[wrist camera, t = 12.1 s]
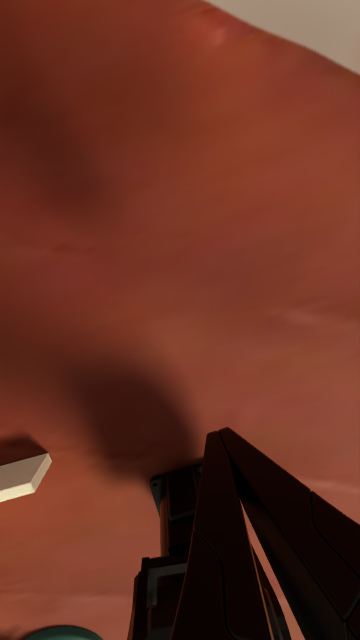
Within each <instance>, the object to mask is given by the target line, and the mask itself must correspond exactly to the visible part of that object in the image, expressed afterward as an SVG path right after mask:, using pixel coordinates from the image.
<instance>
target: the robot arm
mask: <svg viewBox="0 0 360 640" xmlns="http://www.w3.org/2000/svg"><path fill="white" fill-rule="evenodd" d="M150 487H151V490H152V494H153V497H154V500H155V503H156V506H157V509H158V512H159V516H160V544H161V557H155V558H149V557H145V558H142V565H141V571H140V572H139V574H138V575H137V576H136V577H135V579H134V593H133V606H132V614H131V620H130V626H129V632H128V638H127V640H291V636H290V633H289V629H288V626H287V623H286V620H285V617H284V614H283V611H282V609H281V606H280V604H279V601H278V599H277V597H276V595H275V592H274V590H273V588H272V586H271V584H270V582H269V580H268V578H267V576H266V574H265V572H264V570H263V567H262V565H261V563H260V561H259V559H258V557H257V555H256V553H255V551H254V549H253V547H252V545H251V542H250V539H249V535H248V531H247V527H246V523H245V518H244V514H243V510H242V506H241V503H242V505H243V507H244V510H245V512H246V514H247V516H248V518H249V520H250V522H251V525H252V527H253V529H254V531H255V533H256V535H257V537H258V540H259V542H260V544H261V546H262V548H263V550H264V552H265V555H266V557H267V559H268V561H269V563H270V565H271V567H272V569H273V572H274V574H275V576H276V578H277V580H278V582H279V584H280V587H281V589H282V591H283V593H284V595H285V597H286V599H287V602H288V604H289V606H290V608H291V610H292V612H293V614H294V617H295V619H296V621H297V623H298V625H299V627H300V629H301V632H302V634H303V636H304V638H305V640H360V525H359V524H358V523H356V522H355V521H353V520H352V519H350V518H349V517H347V516H346V515H345V514H343V513H342V512H340V511H339V510H338V509H336V508H335V507H334V506H332V505H331V504H329V503H328V502H327V501H325V500H324V499H323V498H321V497H320V496H319V495H317V494H316V493H315V492H313V491H311V490H310V489H309V488H308V487H307V486H305V485H304V484H303V483H301V482H300V481H299V480H297V479H296V478H295V477H294V476H292V475H291V474H290V473H288V472H287V471H286V470H284V469H283V468H282V467H280V466H279V465H278V464H276V463H275V462H274V461H272V460H271V459H270V458H268V457H267V456H266V455H265V454H263V453H262V452H261V451H259V450H258V449H257V448H255V447H254V446H253V445H251V444H250V443H249V442H247V441H246V440H245V439H243V438H242V437H241V436H239V435H238V434H237V433H236V432H234V431H233V430H232V429H230V428H229V427H226V428H223V429H220V430H219V431H213V432H210V433H208V434H207V437H206V444H205V450H204V457H203V463H201V464H198V465H194V466H191V467H187V468H184V469H180V470H177V471H173V472H170V473H166V474H163V475H159V476H156V477H153V478H151V480H150ZM240 500H241V502H240Z"/></svg>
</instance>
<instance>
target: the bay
mask: <svg viewBox="0 0 360 640" xmlns="http://www.w3.org/2000/svg"><path fill="white" fill-rule="evenodd" d="M51 462H52V460H51V458H50V456H49V453H46V454H42V455H39V456H35V457H31V458H28V459H24V460H20V461H17V462H13V463H10V464H6V465H2V466H0V502H2V501H5V500H9V499H12V498H16V497H20V496H23V495H27V494H30V493H34V492H35V491H36V489H37V487H38V485H39V484H40V482H41V480H42V478H43V477H44V475H45V473H46V471H47V469H48V468H49V466H50V464H51Z"/></svg>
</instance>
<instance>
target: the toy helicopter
mask: <svg viewBox="0 0 360 640" xmlns="http://www.w3.org/2000/svg"><path fill="white" fill-rule="evenodd" d="M25 640H103V639H102V638H101V637H100V636H98V635H97V634H96V633H94V632H92V631H90V630H87V629H84V628H78V627H56V628H50V629H46V630H43V631H40V632H38V633H35V634H33V635H31V636H29V637H28V638H26V639H25Z"/></svg>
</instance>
